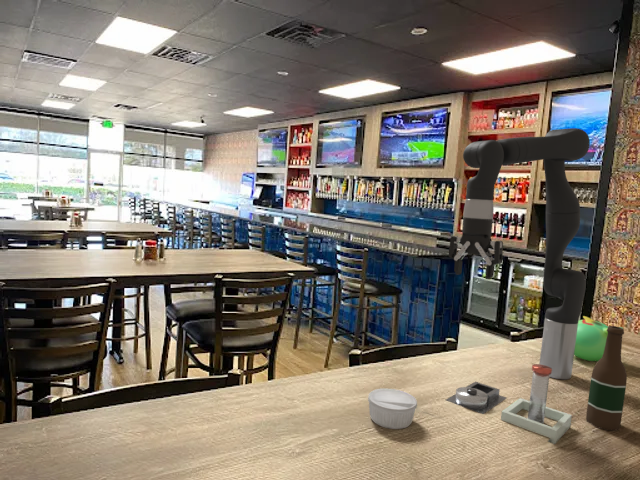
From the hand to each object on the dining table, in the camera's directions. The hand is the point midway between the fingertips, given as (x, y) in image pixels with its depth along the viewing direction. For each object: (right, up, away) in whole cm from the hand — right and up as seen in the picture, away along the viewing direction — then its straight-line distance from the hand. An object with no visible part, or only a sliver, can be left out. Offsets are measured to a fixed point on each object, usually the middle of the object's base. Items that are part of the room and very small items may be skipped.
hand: (472, 276), depth 130 cm
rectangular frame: (+9, -34, -17) cm, 39 cm away
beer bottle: (+28, -35, -13) cm, 46 cm away
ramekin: (-25, -32, -20) cm, 45 cm away
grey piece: (-1, -32, -6) cm, 33 cm away
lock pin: (+9, -33, -17) cm, 38 cm away
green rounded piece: (+53, -32, +39) cm, 73 cm away
